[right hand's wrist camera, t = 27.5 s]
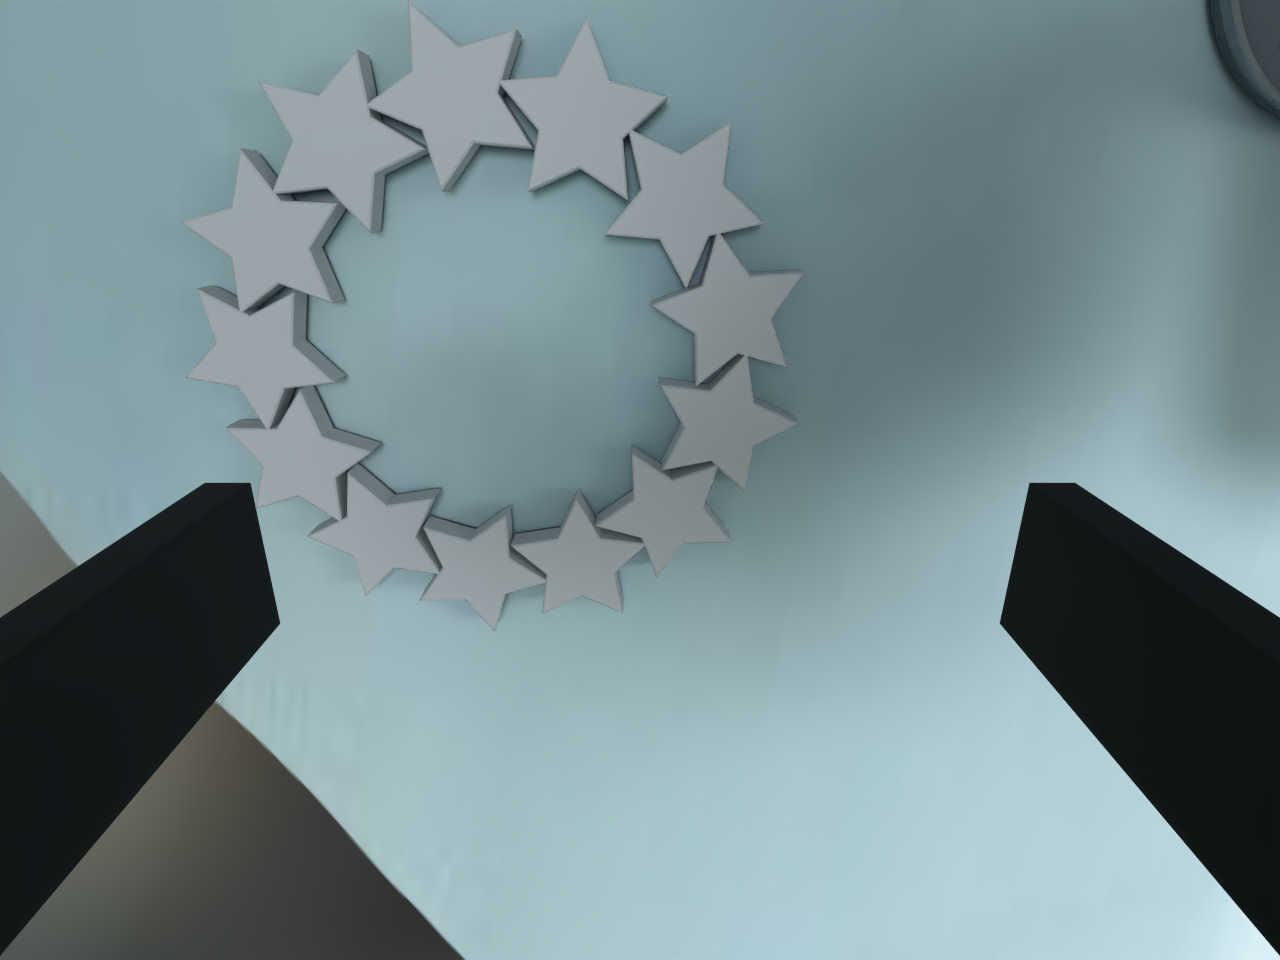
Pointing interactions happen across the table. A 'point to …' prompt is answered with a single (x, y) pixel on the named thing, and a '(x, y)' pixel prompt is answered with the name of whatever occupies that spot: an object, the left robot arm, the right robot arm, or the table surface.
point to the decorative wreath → (453, 130)
